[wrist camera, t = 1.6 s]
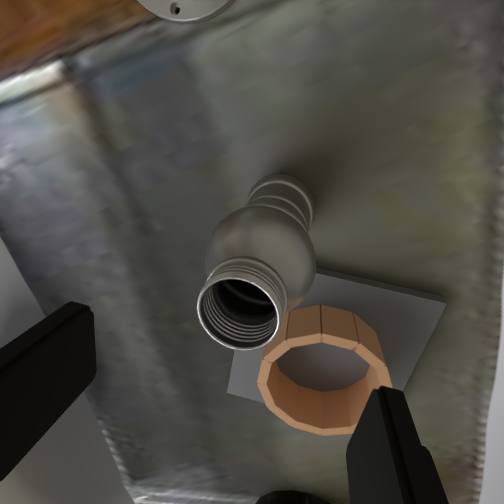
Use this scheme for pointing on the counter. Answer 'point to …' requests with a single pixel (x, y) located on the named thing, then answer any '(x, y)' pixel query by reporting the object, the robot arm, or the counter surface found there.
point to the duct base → (338, 351)
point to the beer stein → (290, 498)
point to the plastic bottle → (259, 264)
